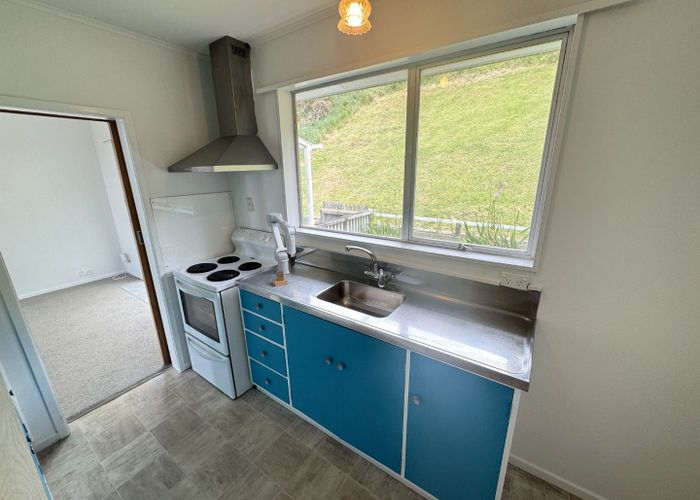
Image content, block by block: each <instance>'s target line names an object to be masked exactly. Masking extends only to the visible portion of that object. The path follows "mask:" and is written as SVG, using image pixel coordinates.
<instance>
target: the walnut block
mask: <svg viewBox="0 0 700 500" xmlns="http://www.w3.org/2000/svg"><path fill="white" fill-rule="evenodd" d="M275 275H276V277H275V278H277V281H282V280H284V277H285V276H284V275H285V274H283V271H277V270H276V271H275Z"/></svg>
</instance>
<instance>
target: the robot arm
mask: <svg viewBox="0 0 700 500" xmlns="http://www.w3.org/2000/svg"><path fill="white" fill-rule="evenodd" d="M265 216H266V217H265V219H266V222H267V225H268V227H270V229H271V233H272V234H271V235H272V236H273V240H274V243H275V247H276V249H275V250H274V252H273V254H274V255H273V256H274V260H275V261H276V262H277V270H276V271H283V274H284V275H288V274H290V270H289V264H290V266H291V267H294V266H295V264H296V261H297V260H296V259H297V258H298V257H297V255H295V254H296V253H297V250H296V238H295V237H296V234H297V229H296V227H295V226H293V225H290V223H289V222H288V221H287V220H284V219H283V215H282V213H281V212H271V213H269V212H268V213H267V214H266V215H265ZM279 226H280V229H282V231H283V234H284V239H285V243H286V246H285V247H284V243H283V241H282V237H281V233H280V230H279Z"/></svg>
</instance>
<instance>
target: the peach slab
mask: <svg viewBox="0 0 700 500" xmlns="http://www.w3.org/2000/svg"><path fill="white" fill-rule="evenodd" d="M271 282H272V285H275V286H274V287H275V288H276V287H281V286H282V285H283V286H287V285H289V283H288V279H287V278H286V277H285V276H284V280H282V281H277V278H276V277H275V278H272V279H271Z"/></svg>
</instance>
